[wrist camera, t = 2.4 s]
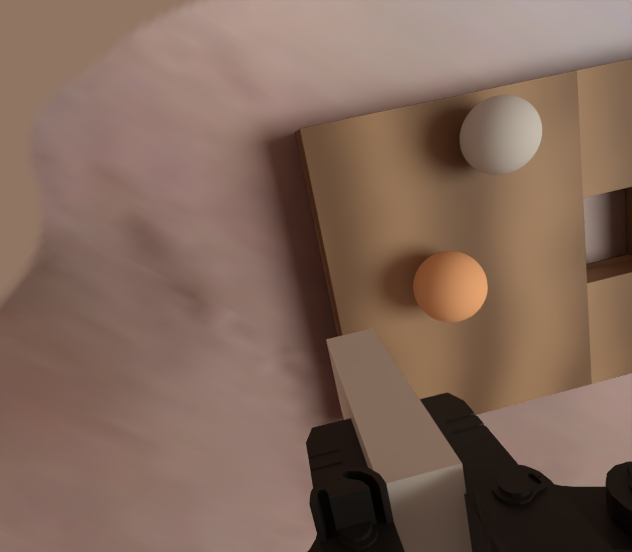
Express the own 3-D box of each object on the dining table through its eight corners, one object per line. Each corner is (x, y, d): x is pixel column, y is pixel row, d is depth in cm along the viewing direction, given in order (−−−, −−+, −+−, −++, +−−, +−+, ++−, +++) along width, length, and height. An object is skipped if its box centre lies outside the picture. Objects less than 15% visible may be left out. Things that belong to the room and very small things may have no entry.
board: (354, 418, 26) (364, 444, 23) (294, 132, 22) (299, 128, 19) (671, 335, 27) (711, 351, 25) (673, 52, 23) (721, 40, 21)
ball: (408, 316, 22) (434, 340, 19) (398, 253, 21) (423, 269, 18) (470, 300, 22) (505, 322, 19) (463, 238, 21) (498, 251, 18)
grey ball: (452, 180, 21) (486, 183, 18) (442, 108, 20) (477, 98, 17) (517, 166, 21) (562, 166, 18) (511, 93, 20) (557, 81, 17)
